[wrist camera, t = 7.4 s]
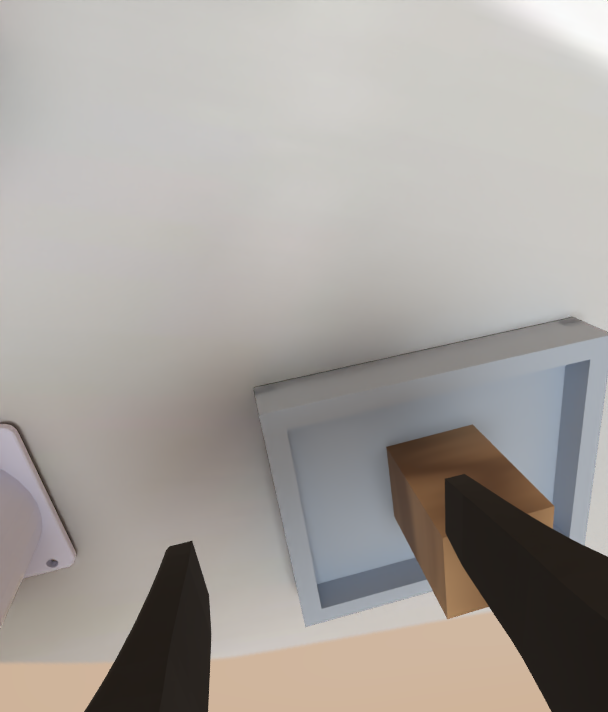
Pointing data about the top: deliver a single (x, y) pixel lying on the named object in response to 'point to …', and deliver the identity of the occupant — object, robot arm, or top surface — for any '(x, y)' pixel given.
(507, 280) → the top surface
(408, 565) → the tray
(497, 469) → the walnut block
